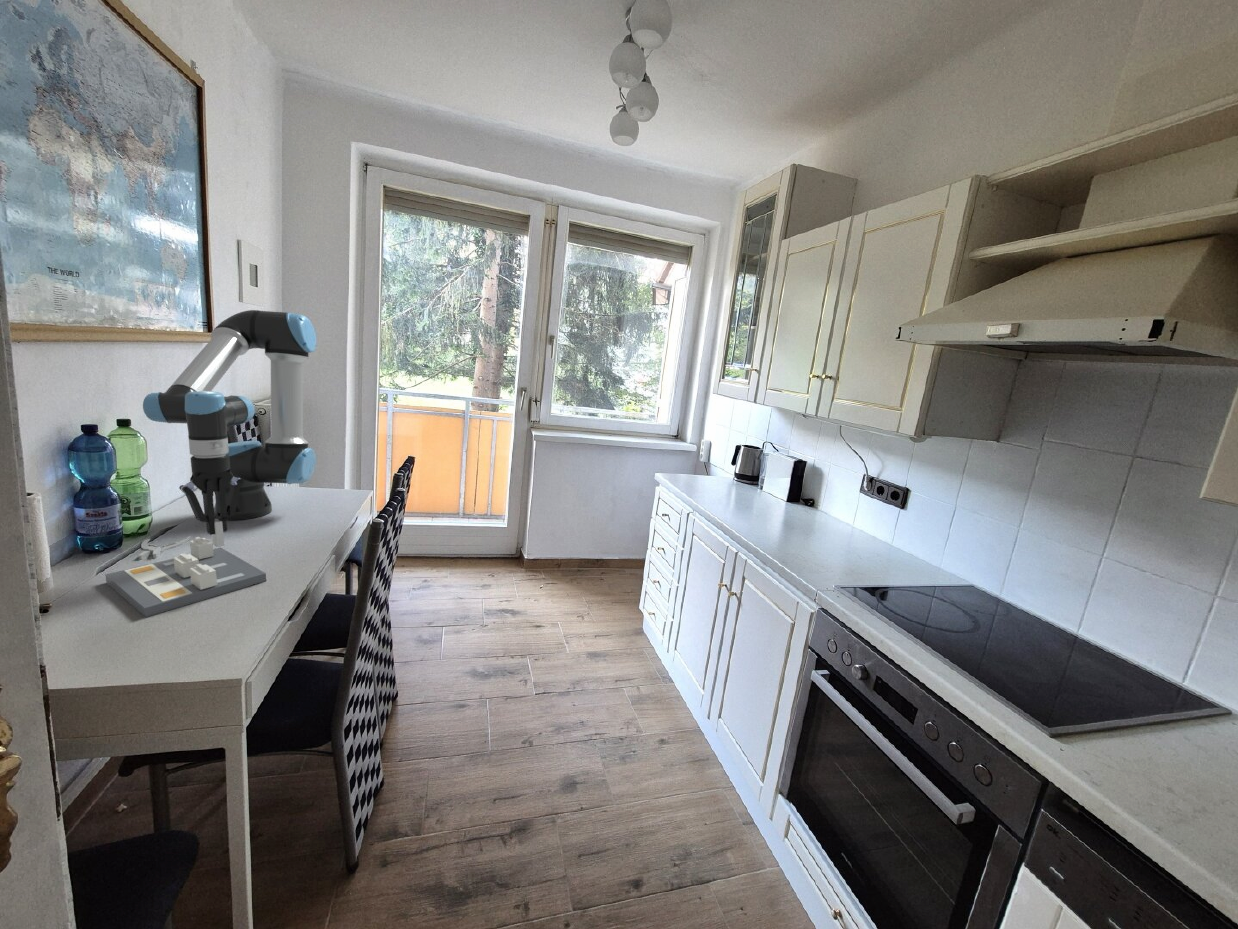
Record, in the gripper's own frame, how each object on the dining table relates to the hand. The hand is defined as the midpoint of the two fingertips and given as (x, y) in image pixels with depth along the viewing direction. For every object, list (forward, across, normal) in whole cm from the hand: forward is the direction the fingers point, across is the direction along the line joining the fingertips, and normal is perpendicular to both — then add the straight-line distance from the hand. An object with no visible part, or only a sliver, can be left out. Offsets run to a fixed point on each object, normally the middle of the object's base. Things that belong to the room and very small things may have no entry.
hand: (218, 544), depth 129 cm
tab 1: (+2, -4, 0) cm, 4 cm away
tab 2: (+2, -10, -9) cm, 13 cm away
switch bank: (+4, -10, -9) cm, 14 cm away
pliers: (+5, -6, +18) cm, 20 cm away
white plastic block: (+2, -10, -18) cm, 20 cm away
